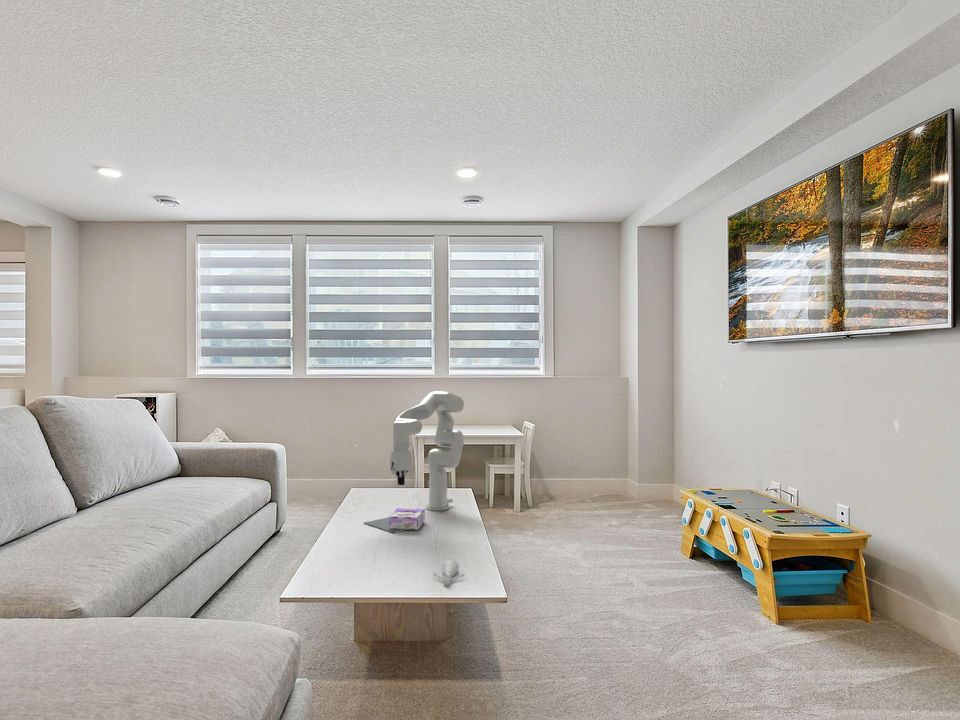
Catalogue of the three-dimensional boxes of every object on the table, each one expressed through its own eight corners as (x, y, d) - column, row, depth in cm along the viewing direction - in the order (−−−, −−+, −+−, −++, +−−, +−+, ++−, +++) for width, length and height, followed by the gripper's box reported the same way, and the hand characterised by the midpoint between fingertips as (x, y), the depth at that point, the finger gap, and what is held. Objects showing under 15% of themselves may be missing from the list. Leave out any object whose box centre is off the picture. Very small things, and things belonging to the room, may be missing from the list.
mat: (391, 517, 293) (391, 516, 293) (420, 526, 278) (420, 525, 278) (363, 523, 280) (363, 522, 280) (392, 533, 265) (392, 531, 265)
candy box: (425, 509, 285) (418, 517, 268) (424, 521, 285) (418, 530, 268) (397, 507, 286) (388, 516, 270) (396, 520, 286) (388, 529, 270)
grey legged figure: (466, 557, 219) (463, 577, 201) (466, 569, 219) (463, 590, 201) (435, 556, 219) (429, 576, 201) (435, 568, 220) (429, 589, 202)
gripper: (408, 444, 291) (408, 481, 291) (383, 447, 280) (383, 486, 280) (418, 445, 286) (418, 483, 286) (393, 449, 275) (393, 488, 275)
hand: (401, 484), depth 283 cm, fingers closed
